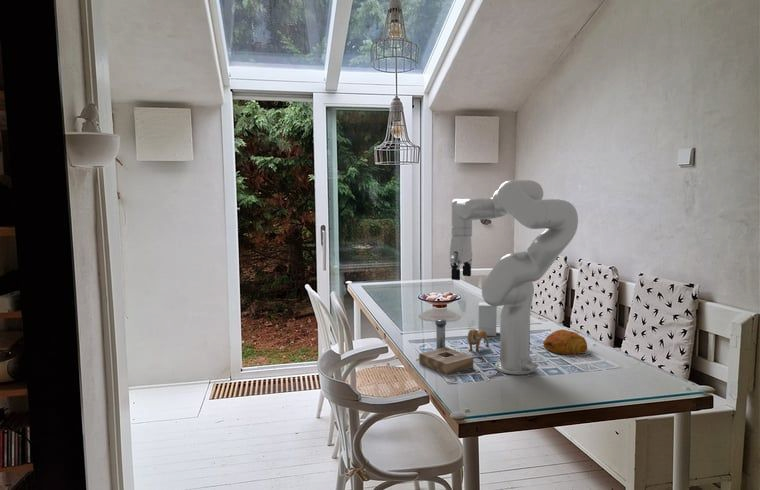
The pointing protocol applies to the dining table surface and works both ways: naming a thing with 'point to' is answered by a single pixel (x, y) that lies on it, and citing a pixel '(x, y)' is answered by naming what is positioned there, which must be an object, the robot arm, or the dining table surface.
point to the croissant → (565, 342)
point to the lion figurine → (477, 338)
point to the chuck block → (446, 360)
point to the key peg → (440, 333)
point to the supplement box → (487, 318)
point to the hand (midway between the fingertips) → (461, 277)
